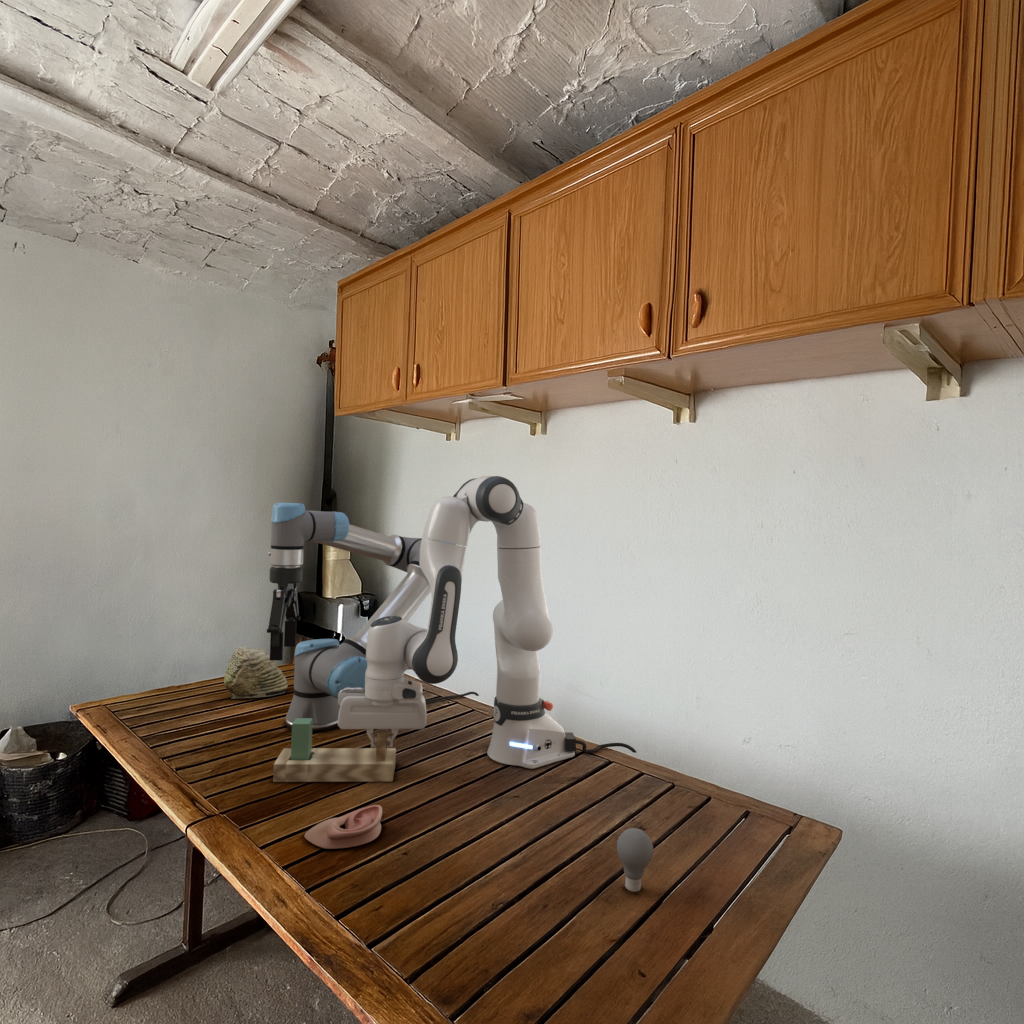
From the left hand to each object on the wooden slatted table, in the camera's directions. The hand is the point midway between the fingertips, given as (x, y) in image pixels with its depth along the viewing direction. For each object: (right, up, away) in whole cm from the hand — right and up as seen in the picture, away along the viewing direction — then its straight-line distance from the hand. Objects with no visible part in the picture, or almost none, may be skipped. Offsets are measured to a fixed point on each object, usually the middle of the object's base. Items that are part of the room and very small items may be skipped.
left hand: (283, 653), depth 154 cm
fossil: (-24, -23, +43) cm, 55 cm away
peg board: (+16, -26, -9) cm, 31 cm away
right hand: (+26, -20, -8) cm, 34 cm away
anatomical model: (+24, -26, -35) cm, 50 cm away
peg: (+8, -25, -10) cm, 28 cm away
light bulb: (+76, -29, -49) cm, 95 cm away
